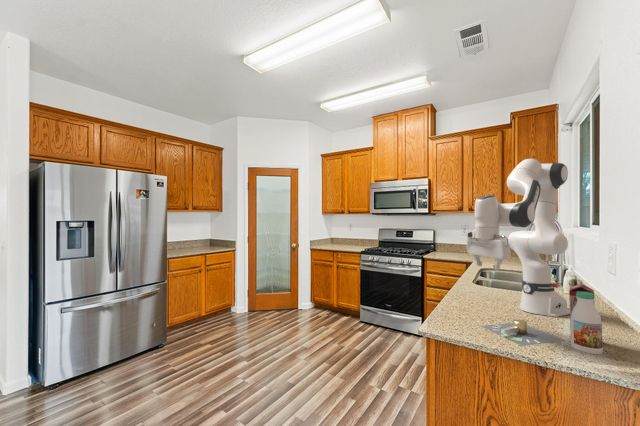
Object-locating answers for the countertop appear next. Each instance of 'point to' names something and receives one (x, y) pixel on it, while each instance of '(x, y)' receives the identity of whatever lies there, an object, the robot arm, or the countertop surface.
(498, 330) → the dial board
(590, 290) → the milk carton
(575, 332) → the milk bottle
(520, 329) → the tuner knob with pointer
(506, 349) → the countertop surface
